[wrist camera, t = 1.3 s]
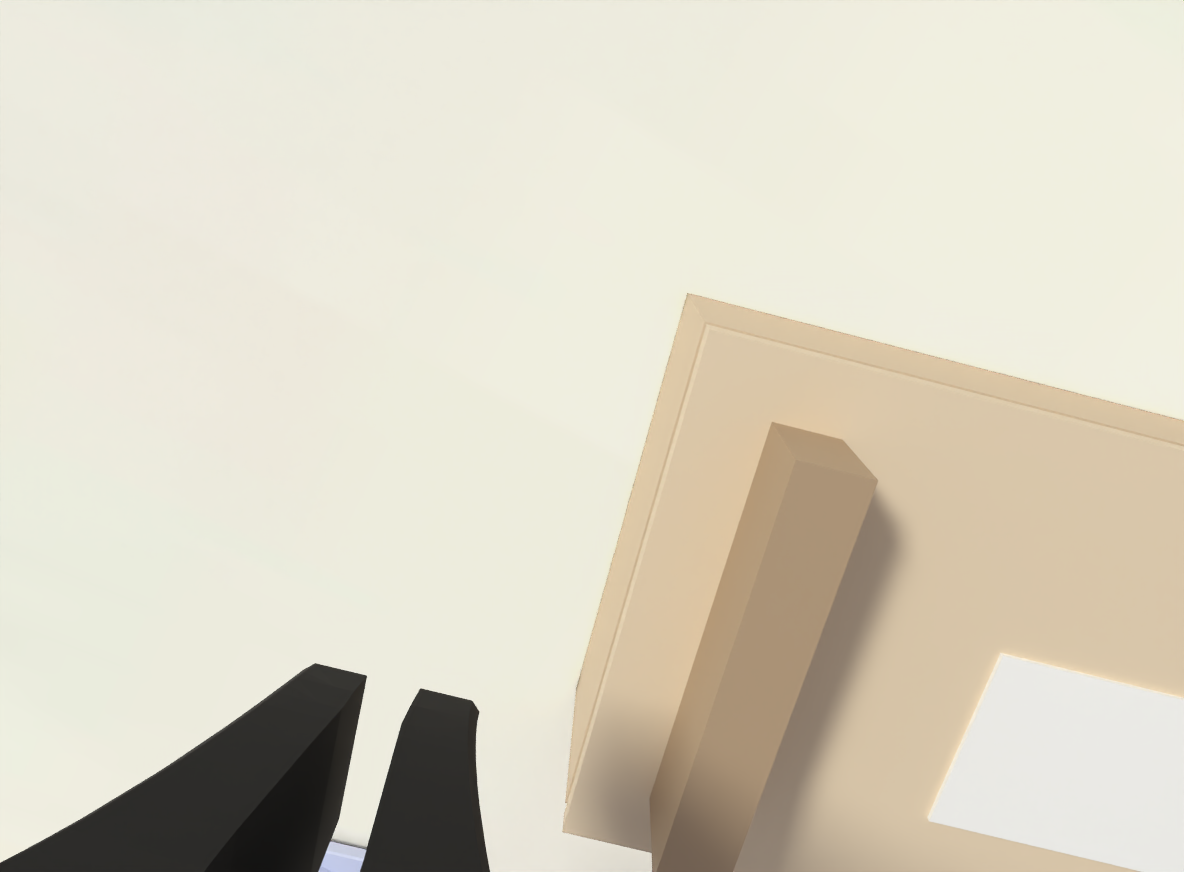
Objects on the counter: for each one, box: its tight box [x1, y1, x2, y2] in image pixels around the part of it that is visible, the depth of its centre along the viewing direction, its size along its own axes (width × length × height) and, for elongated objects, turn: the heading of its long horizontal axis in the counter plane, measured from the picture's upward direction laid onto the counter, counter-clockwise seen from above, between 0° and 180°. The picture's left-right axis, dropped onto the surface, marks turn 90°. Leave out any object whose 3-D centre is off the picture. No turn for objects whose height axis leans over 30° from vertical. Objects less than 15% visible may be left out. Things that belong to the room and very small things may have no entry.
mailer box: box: [565, 293, 1184, 803], centre depth 18 cm, size 14×10×4 cm
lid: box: [562, 324, 1184, 872], centre depth 14 cm, size 14×10×2 cm
